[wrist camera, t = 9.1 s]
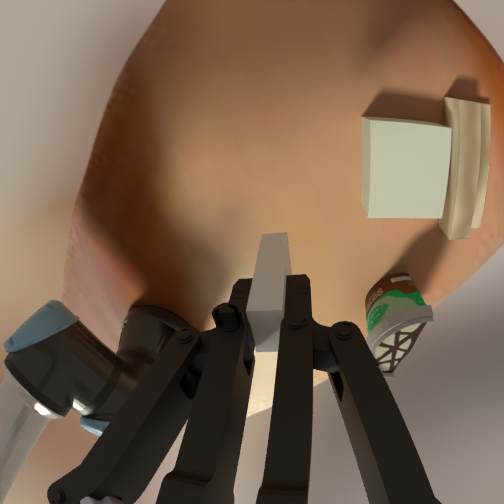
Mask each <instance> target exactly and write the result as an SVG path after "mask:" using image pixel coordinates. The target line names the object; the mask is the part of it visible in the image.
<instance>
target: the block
mask: <svg viewBox="0 0 504 504" xmlns="http://www.w3.org/2000/svg"><path fill="white" fill-rule="evenodd" d="M361 118H362V198H361V204H362V206H363V209H364V211H365V213H366V215H367V217H368V218H441V219H442V215H443V209H444V203H445V197H446V190H447V182H448V173H449V163H450V151H451V132H452V128H449V127H447V126H444V125H441V124H438V123H434V122H426V121H417V120H408V119H397V118H383V117H362V116H361Z"/></svg>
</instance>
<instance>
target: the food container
mask: <svg viewBox="0 0 504 504" xmlns="http://www.w3.org/2000/svg"><path fill="white" fill-rule="evenodd" d="M365 307H366V318H367V330H368V337H367V339H366V342H367V344H368V346H369V348H370V350H371V352H372V354H373V356H374V358H375V360H376V362H377V364H378V366H379V368H380V370H381V372H382V374H383V376H384V377H389V378H394V370H395V369H396V367H397V365H398V364H399V363H400V361H401V360H402V359H403V358H404V357H405V356H406V355H407V354H408V353H409V352H410V350H411V349H412V347H413V345H414V344H415V341H416V340H417V338H418V336H419V334H420V332H421V331H422V329H423V328H424V326H425V324H426V323H427V322H434V320H433V312H432V308H431V305H426V304H425V302H424V300H423V298H422V297H421V295H420V293H419V291H418V289H417V287H416V286H415V284H414V282H413V280H412V279H411V277H410V275H409V274H406V273H400V274H395V275H390V276H388V277H386V278H384V279H382V280H380V281H379V282H378V283H376V284H375V285H374V286H373V287H372V288H371V289H370V291H369V292H368V294H367V296H366V300H365Z"/></svg>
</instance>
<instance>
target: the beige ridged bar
mask: <svg viewBox="0 0 504 504" xmlns="http://www.w3.org/2000/svg"><path fill="white" fill-rule="evenodd" d="M444 112H445V126H447V127H449V128H452V132H451V151H450V163H449V173H448V182H447V190H446V197H445V203H444V209H443V215H442V219H441V218H440V219H439V227H440V228H441V230H442V231H443V232H444V234H445V235H446V236H447V237H448V239H449V240H459V239H469V235H470V230H471V228H480V224H481V219H482V214H483V208H484V202H485V195H486V188H487V179H488V169H489V157H490V132H491V119H490V105H488V104H484V103H479V102H474V101H468V100H462V99H455V98H448V97H444Z"/></svg>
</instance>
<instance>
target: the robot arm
mask: <svg viewBox="0 0 504 504" xmlns="http://www.w3.org/2000/svg"><path fill="white" fill-rule="evenodd" d="M291 271H292V269H291V261H290V252H289V244H288V236H287V232H286V233H274V234H263V235H262V238H261V242H260V247H259V252H258V257H257V261H256V266H255V271H254V275H253V278H250V279H239V280H238V281H237V282H236V283H235V284H234V286H233V289H232V293H231V296H230V299H229V302H227V303H222V304H220V305H218V306H217V307H215V308H214V309H213V311H212V316H213V319H214V321H215V324H216V328H214V329H211V330H208V331H204V332H200V333H199V332H198V330H197V329H195V328H193V327H191V326H190V325H189V324H188V323H186V322H185V321H184V320H183V319H181V318H180V317H178V316H176V315H175V314H173V313H171V312H169V311H167V310H164V309H161V308H158V307H154V306H138V307H135V308H133V309H131V310H130V311H129V313H128V315H127V316H126V318H125V319H124V321H123V325H122V332H121V336H120V341H119V347H118V351H117V352H116V354H115V353H114V352H113V351H112V350H110V349H109V348H108V347H107V346H106V345H105V344H104V343H103V342H102V341H100V340H99V339H98V338H97V337H96V336H95V335H94V334H93V333H92V332H91V331H90V330H89V329H88V328H87V327H86V326H85V325H84V324H83V323H82V322H81V321H80V320H79V317H78V316H75V315H74V314H73V313H72V312H71V311H70V310H69V309H68V308H67V307H66V306H65V305H63V304H62V303H61V302H59V301H57V300H51V301H48V302H47V303H46V304H45V305H43V306H42V307H41V308H40V309H39V310H38V311H37V312H35V313H34V314H33V315H32V316H31V317H30V318H29V319H28V320H27V321H26V322H25V323H23V324H22V325H21V326H20V327H19V328H18V329H17V330H16V331H15V332H14V333H13V334H12V335H11V336H10V337H9V338H8V339H7V340H6V341H5V342H4V348H5V350H6V352H8V353H9V354H8V356H7V357H6V359H5V360H4V361H3V367H4V373H5V379H4V380H3V382H2V383H1V385H0V504H2V503H3V500H4V499H5V497H6V495H7V493H8V491H9V489H10V487H11V485H12V484H13V482H14V480H15V478H16V476H17V474H18V472H19V471H20V469H21V467H22V465H23V464H24V462H25V460H26V458H27V457H28V455H29V453H30V452H31V450H32V448H33V447H34V445H35V443H36V442H37V440H38V438H39V437H40V435H41V433H42V432H43V430H44V428H45V427H46V426H47V424H48V422H49V421H50V420H51V419H57V418H64V417H65V416H66V415H67V413H68V412H69V410H70V409H71V408H72V409H74V410H75V411H77V412H78V413H80V414H81V415H82V417H81V418H80V425H81V426H82V427H83V428H85V429H86V430H88V431H90V432H91V433H93V434H95V435H98V436H100V437H99V439H98V440H97V442H96V443H95V444H94V446H93V447H92V449H91V450H90V452H89V453H88V454H87V456H86V457H85V459H84V460H83V462H82V463H81V465H79V466H78V467H77V468H75V469H73V470H72V471H71V472H69V473H68V474H66V475H65V476H63V477H62V478H60V479H59V480H57V481H56V482H54V483H53V484H52V485H51V486H50V487H49V489H48V492H47V497H48V500H49V503H50V504H133V503H135V502H136V500H137V499H138V498H139V497H140V496H141V495H142V493H143V492H144V490H145V489H146V487H147V486H148V484H149V482H150V481H151V479H152V478H153V476H154V474H155V473H156V471H157V469H158V468H159V466H160V464H161V462H162V461H163V459H164V458H165V456H166V455H167V453H168V451H169V449H170V448H171V446H172V445H173V443H174V441H175V440H176V438H177V436H178V435H179V433H180V431H181V430H182V428H183V426H184V424H185V423H186V421H187V419H188V418H189V419H188V422H187V426H186V429H185V433H184V436H183V440H182V443H181V447H180V450H179V454H178V457H177V461H176V464H175V467H174V469H173V471H171V472H170V473H168V474H167V475H166V476H165V477H164V479H163V481H162V484H161V487H160V490H159V494H158V498H157V501H156V504H234V494H233V489H234V482H235V477H236V472H237V466H238V460H239V455H240V449H241V444H242V438H243V432H244V426H245V420H246V415H247V409H248V402H249V396H250V390H251V384H252V378H253V372H254V365H255V356H254V348H256V352H275V351H278V358H277V368H276V378H275V387H274V397H273V406H272V414H271V423H270V431H269V439H268V447H267V454H266V461H265V469H264V476H263V482H262V485H261V487H260V489H259V491H258V495H257V500H256V504H308V493H309V481H310V465H311V447H312V421H313V420H312V418H313V417H312V416H313V369H316V370H321V371H325V372H327V373H328V376H329V379H330V382H331V385H332V388H333V390H334V393H335V396H336V399H337V402H338V405H339V408H340V411H341V414H342V417H343V420H344V423H345V426H346V429H347V432H348V435H349V438H350V442H351V444H352V448H353V451H354V454H355V457H356V460H357V463H358V467H359V470H360V473H361V477H362V480H363V483H364V487H365V490H366V493H367V497H368V500H369V504H442V503H440V502H439V501H438V500H437V499H436V498H435V497H434V494H433V491H432V489H431V486H430V483H429V480H428V478H427V475H426V473H425V470H424V467H423V465H422V462H421V460H420V457H419V455H418V452H417V450H416V447H415V445H414V443H413V440H412V438H411V436H410V433H409V431H408V429H407V426H406V424H405V422H404V419H403V417H402V415H401V413H400V411H399V408H398V406H397V404H396V402H395V400H394V397H393V395H392V393H391V391H390V389H389V387H388V385H387V383H386V380H385V378H384V376H383V374H382V372H381V370H380V368H379V366H378V364H377V362H376V360H375V358H374V356H373V354H372V352H371V350H370V348H369V346H368V344H367V342H366V340H365V338H364V336H363V334H362V333H361V331H360V329H359V328H358V326H357V325H356V324H354V323H352V322H347V321H342V322H338V323H335V324H334V325H333V326H331V327H327V326H323V325H320V324H318V323H317V322H316V321H314V319H313V317H312V306H311V287H310V279H309V278H308V277H307V275H306V274H301V275H291Z"/></svg>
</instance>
